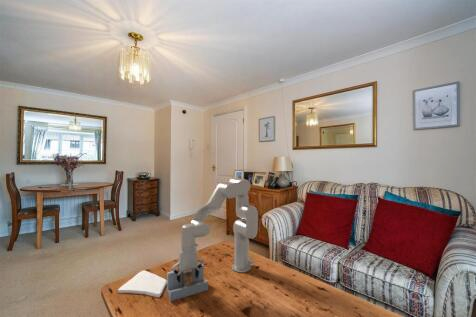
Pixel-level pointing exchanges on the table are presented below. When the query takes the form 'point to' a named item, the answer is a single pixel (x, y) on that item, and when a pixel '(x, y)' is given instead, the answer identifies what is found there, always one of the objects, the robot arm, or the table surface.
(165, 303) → the table surface
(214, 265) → the table surface
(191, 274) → the brown block
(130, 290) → the flat white fragment
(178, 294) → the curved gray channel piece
